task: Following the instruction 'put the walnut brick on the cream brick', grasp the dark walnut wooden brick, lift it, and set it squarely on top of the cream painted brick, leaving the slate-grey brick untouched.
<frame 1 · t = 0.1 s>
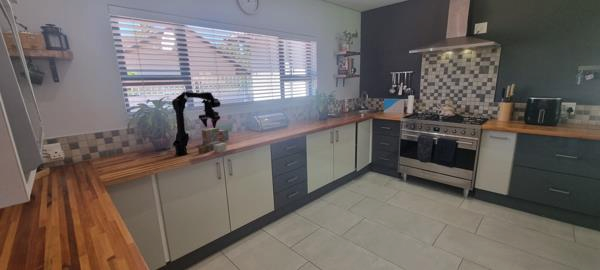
hand: (210, 127, 200), 15 cm above the countertop, fingers open, 9 cm apart
slate brick: (215, 148, 193), on the countertop
walnut brick: (205, 152, 184), on the countertop
stack of blocks: (216, 142, 215), on the countertop
cream brick: (220, 150, 188), on the countertop
supplement box: (169, 148, 199), on the countertop
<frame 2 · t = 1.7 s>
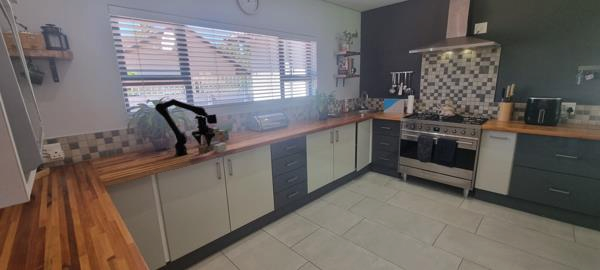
hand: (204, 145, 183), 5 cm above the countertop, fingers open, 9 cm apart
nothing on the countertop moved.
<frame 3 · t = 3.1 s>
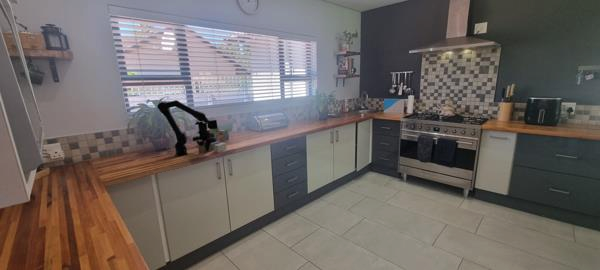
hand: (205, 150, 184), 1 cm above the countertop, fingers closed on walnut brick, 5 cm apart
walnut brick: (205, 152, 184), on the countertop, touching gripper
everything else where it was.
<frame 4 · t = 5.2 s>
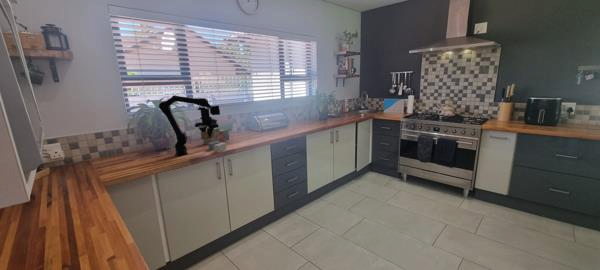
hand: (208, 136, 183), 11 cm above the countertop, fingers closed on walnut brick, 5 cm apart
walnut brick: (208, 138, 183), point 10 cm above the countertop, touching gripper
everything else where it was.
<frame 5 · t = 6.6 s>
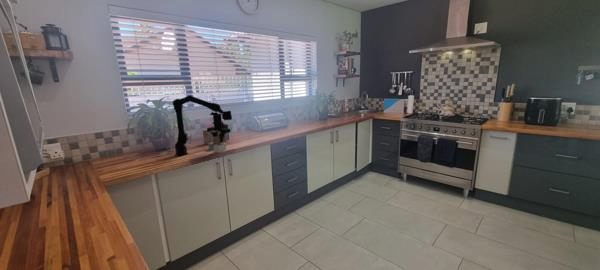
hand: (219, 141, 186), 7 cm above the countertop, fingers closed on walnut brick, 5 cm apart
walnut brick: (219, 142, 187), point 6 cm above the countertop, touching gripper
everything else where it was.
when the fingers open (7 cm above the countertop, at t = 7.5 s): walnut brick drops 1 cm, point 5 cm above the countertop.
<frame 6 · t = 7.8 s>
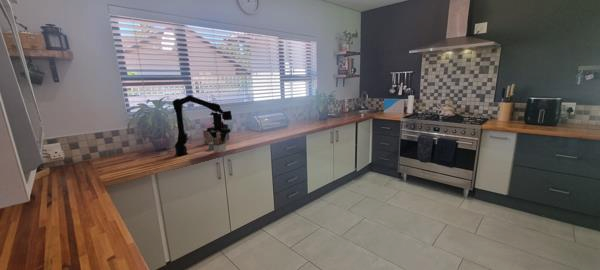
hand: (219, 141, 186), 7 cm above the countertop, fingers open, 7 cm apart
walnut brick: (219, 144, 187), point 5 cm above the countertop
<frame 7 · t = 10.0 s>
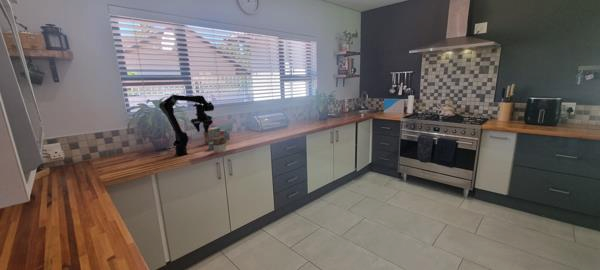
hand: (202, 132, 191), 13 cm above the countertop, fingers open, 9 cm apart
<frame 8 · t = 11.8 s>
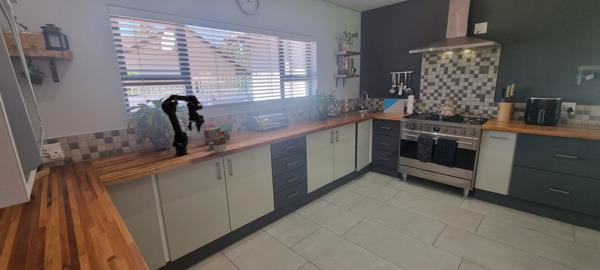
hand: (194, 131, 195), 13 cm above the countertop, fingers open, 9 cm apart
at the end: walnut brick 0.2 cm off-centre on the cream brick, point 5.0 cm above the cream brick's base; cream brick moved 0.2 cm from its start; slate brick moved 0.2 cm from its start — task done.
